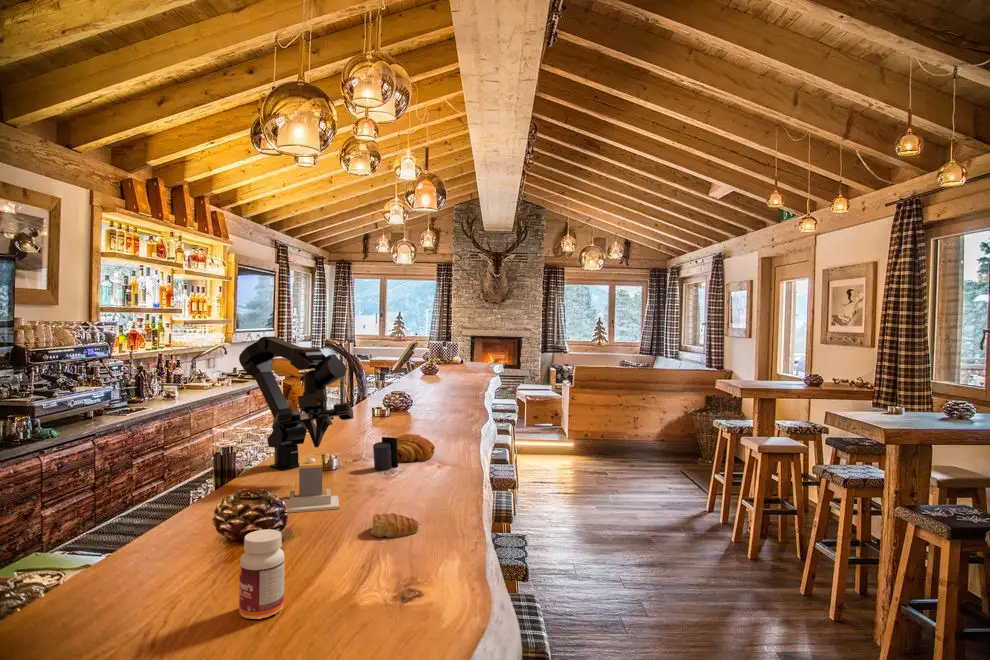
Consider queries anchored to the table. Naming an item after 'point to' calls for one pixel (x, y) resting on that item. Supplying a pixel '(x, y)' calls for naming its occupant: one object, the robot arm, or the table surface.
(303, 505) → the bracket
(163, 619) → the table surface
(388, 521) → the pastry
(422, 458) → the croissant
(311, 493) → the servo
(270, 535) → the pill bottle
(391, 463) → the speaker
